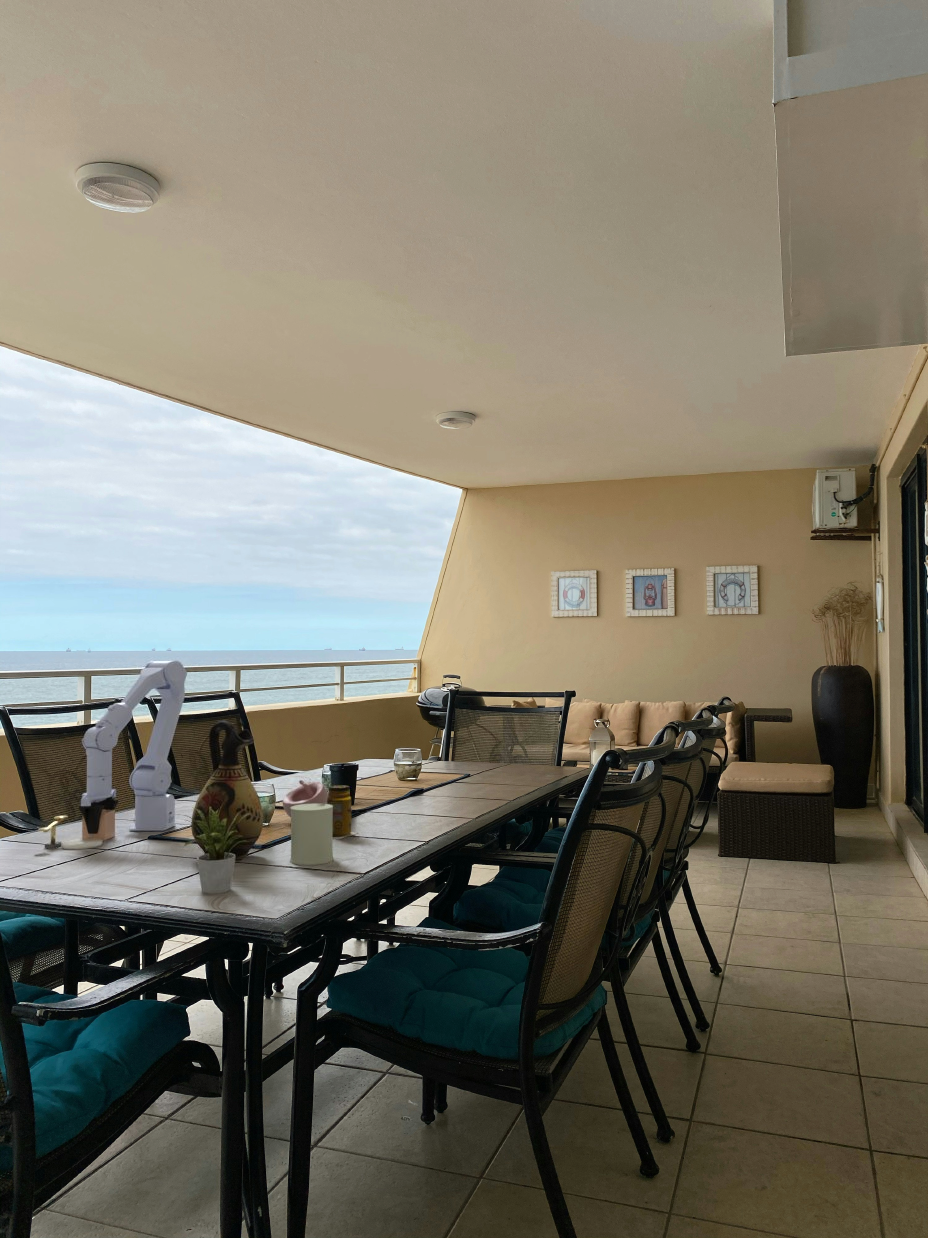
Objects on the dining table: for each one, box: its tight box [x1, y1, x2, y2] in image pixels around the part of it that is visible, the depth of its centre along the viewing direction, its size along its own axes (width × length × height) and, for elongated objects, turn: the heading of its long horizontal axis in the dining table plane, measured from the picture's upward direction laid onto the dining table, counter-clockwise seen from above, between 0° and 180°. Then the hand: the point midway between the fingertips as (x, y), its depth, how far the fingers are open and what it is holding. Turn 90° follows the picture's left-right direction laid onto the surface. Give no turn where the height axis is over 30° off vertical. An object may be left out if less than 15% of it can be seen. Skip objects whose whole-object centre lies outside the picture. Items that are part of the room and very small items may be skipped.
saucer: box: [60, 838, 104, 850], centre depth 208 cm, size 9×9×1 cm
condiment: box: [327, 784, 358, 840], centre depth 218 cm, size 7×8×12 cm
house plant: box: [174, 804, 251, 895], centre depth 166 cm, size 14×14×16 cm
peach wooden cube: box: [81, 809, 116, 841], centre depth 216 cm, size 6×6×7 cm
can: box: [289, 803, 334, 866], centre depth 190 cm, size 9×9×12 cm
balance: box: [38, 815, 69, 849], centre depth 206 cm, size 10×3×6 cm, turn 177°
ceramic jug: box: [190, 719, 264, 862], centre depth 194 cm, size 17×15×30 cm
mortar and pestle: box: [282, 779, 329, 819], centre depth 236 cm, size 12×12×11 cm
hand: (98, 831), depth 216 cm, fingers closed on peach wooden cube, 6 cm apart
